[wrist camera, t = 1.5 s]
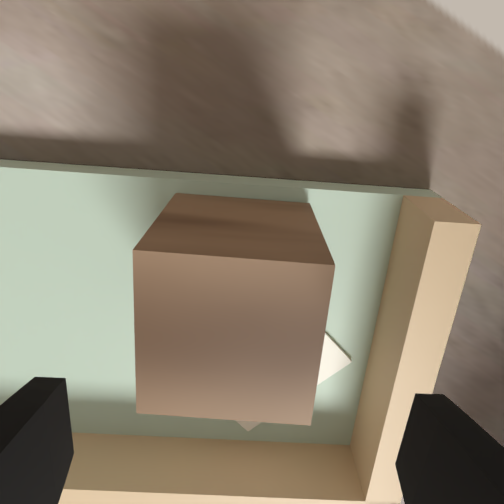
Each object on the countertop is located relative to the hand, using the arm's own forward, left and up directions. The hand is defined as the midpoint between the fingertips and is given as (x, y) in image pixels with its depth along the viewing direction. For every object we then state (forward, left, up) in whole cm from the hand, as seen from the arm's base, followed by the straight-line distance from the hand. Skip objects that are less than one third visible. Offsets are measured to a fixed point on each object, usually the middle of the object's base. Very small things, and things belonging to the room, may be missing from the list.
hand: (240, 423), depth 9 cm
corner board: (-4, +2, -10) cm, 11 cm away
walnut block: (0, 0, -9) cm, 9 cm away
